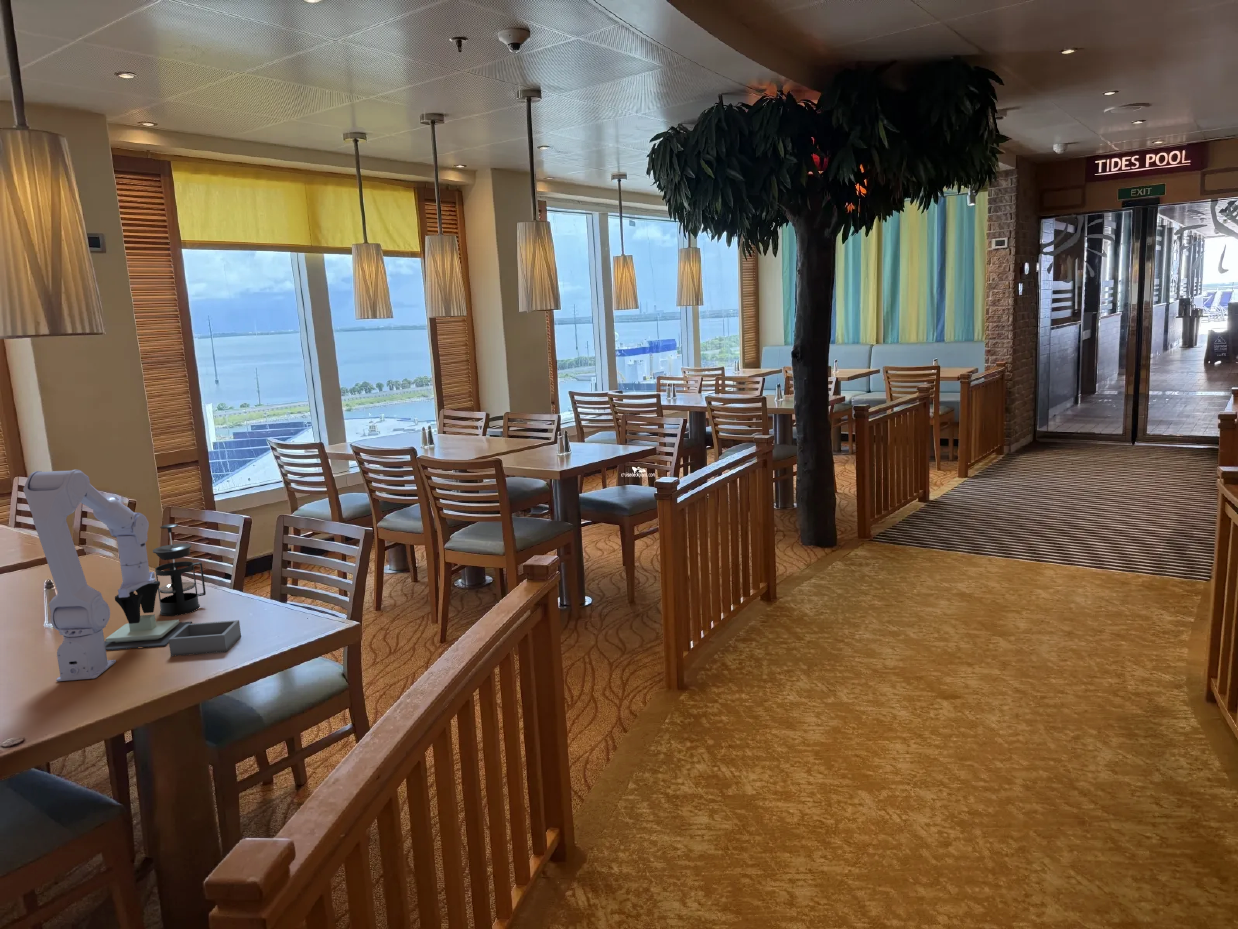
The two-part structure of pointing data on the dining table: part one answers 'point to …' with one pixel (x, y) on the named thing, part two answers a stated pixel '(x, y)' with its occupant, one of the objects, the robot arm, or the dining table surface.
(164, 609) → the french press
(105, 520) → the robot arm
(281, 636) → the dining table surface
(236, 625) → the tub
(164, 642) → the mat
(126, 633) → the lid
